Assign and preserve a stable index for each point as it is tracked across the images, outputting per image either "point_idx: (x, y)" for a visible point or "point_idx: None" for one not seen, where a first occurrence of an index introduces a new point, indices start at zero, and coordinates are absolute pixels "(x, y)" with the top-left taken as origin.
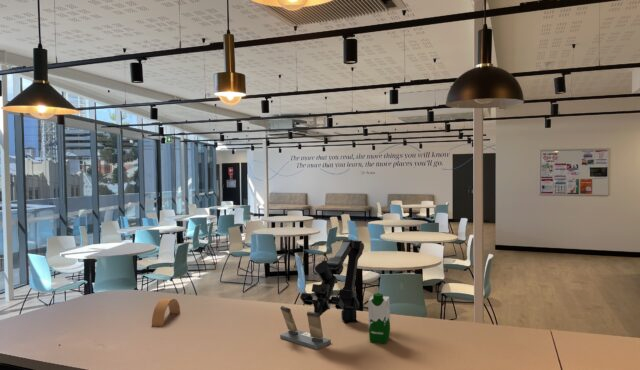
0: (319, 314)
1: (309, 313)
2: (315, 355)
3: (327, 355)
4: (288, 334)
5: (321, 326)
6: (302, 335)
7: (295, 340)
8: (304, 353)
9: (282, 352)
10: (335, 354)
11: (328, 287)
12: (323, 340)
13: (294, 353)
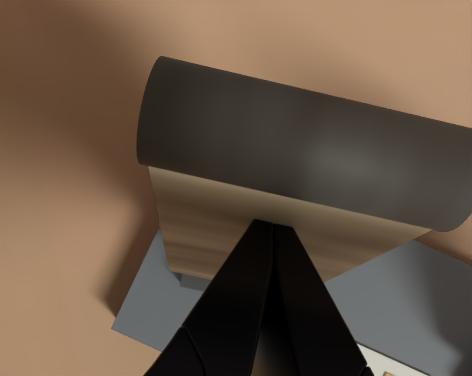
0: (143, 128)
1: (407, 114)
2: (182, 41)
3: (89, 59)
4: None
5: (163, 240)
6: (411, 368)
7: (431, 248)
8: (277, 61)
9: (444, 46)
10: (29, 89)
11: None
12: (174, 285)
13: (351, 46)
